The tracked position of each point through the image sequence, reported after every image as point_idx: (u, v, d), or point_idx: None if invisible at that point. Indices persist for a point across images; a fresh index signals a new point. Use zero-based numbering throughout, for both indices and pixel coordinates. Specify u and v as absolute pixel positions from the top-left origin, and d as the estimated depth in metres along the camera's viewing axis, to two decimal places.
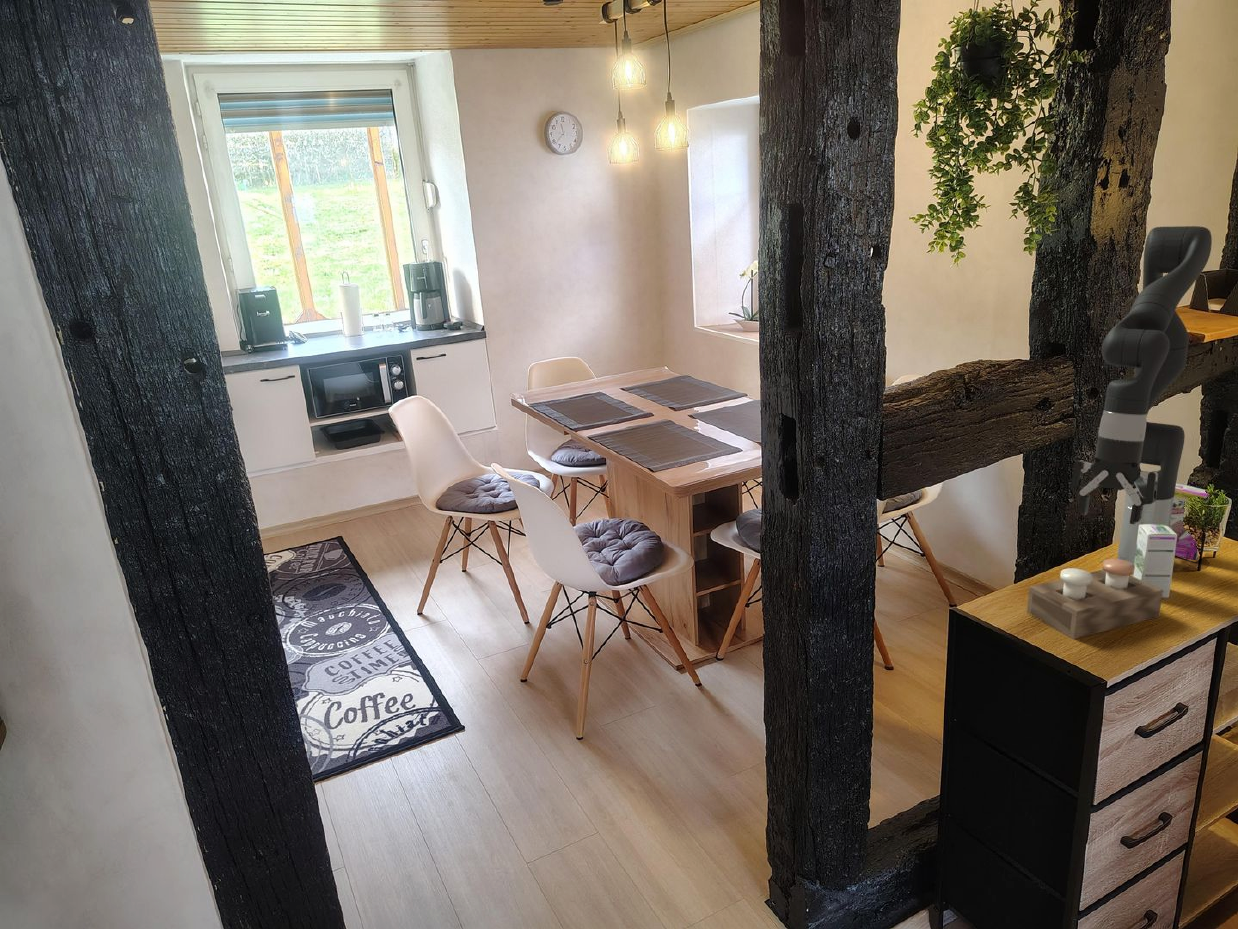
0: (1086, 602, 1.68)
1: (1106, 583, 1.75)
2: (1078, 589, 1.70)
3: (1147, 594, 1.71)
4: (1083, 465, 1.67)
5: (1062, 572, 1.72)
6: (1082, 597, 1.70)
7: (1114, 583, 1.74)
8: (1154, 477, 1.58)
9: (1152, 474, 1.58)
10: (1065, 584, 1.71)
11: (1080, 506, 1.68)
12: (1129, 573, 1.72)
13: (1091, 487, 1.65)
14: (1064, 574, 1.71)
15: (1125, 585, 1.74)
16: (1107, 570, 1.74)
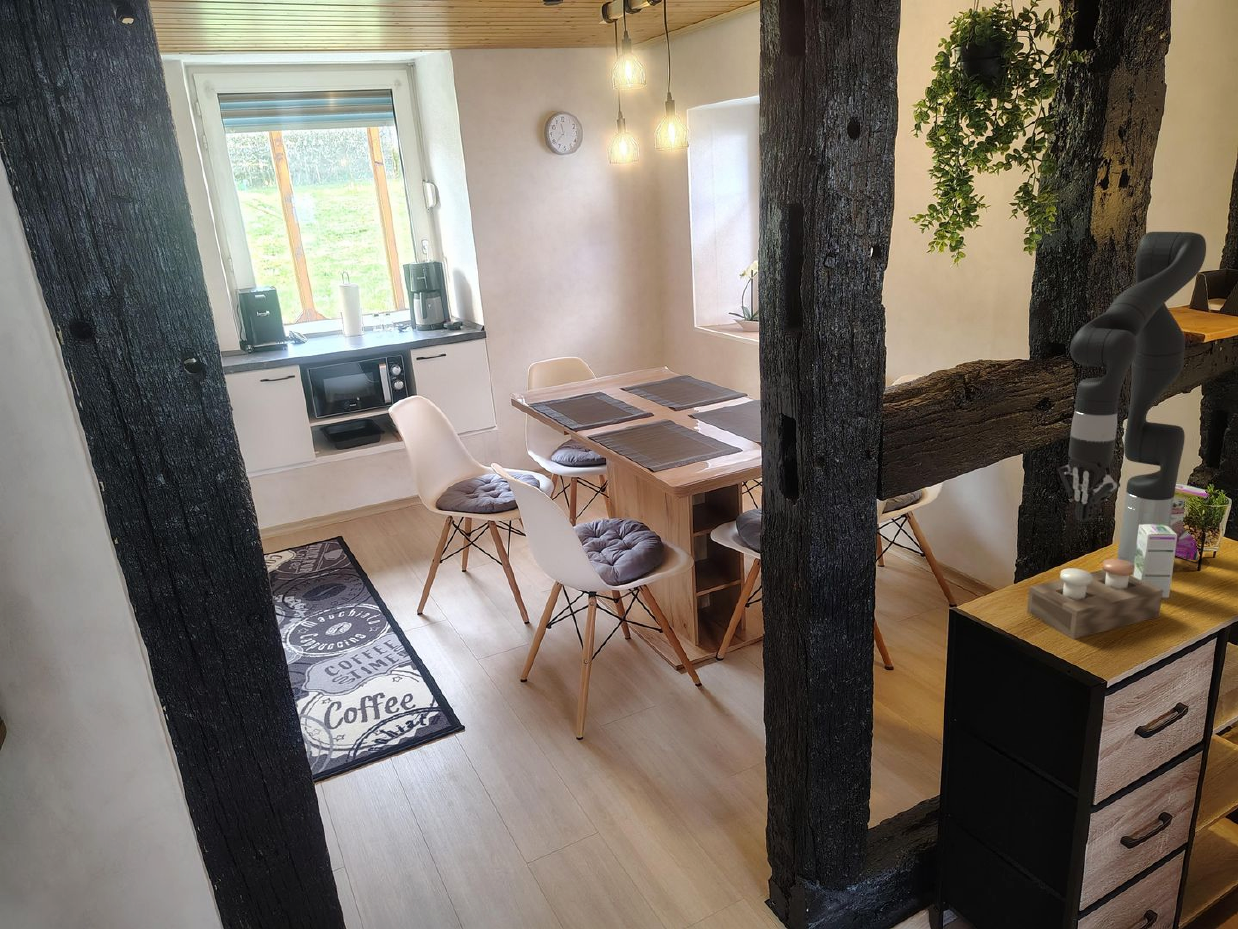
0: (1086, 602, 1.68)
1: (1106, 583, 1.75)
2: (1078, 589, 1.70)
3: (1147, 594, 1.71)
4: (1065, 469, 1.69)
5: (1062, 572, 1.72)
6: (1082, 597, 1.70)
7: (1114, 583, 1.74)
8: (1108, 489, 1.59)
9: (1108, 486, 1.59)
10: (1065, 584, 1.71)
11: (1076, 511, 1.68)
12: (1129, 573, 1.72)
13: (1077, 489, 1.66)
14: (1064, 574, 1.71)
15: (1125, 585, 1.74)
16: (1107, 570, 1.74)
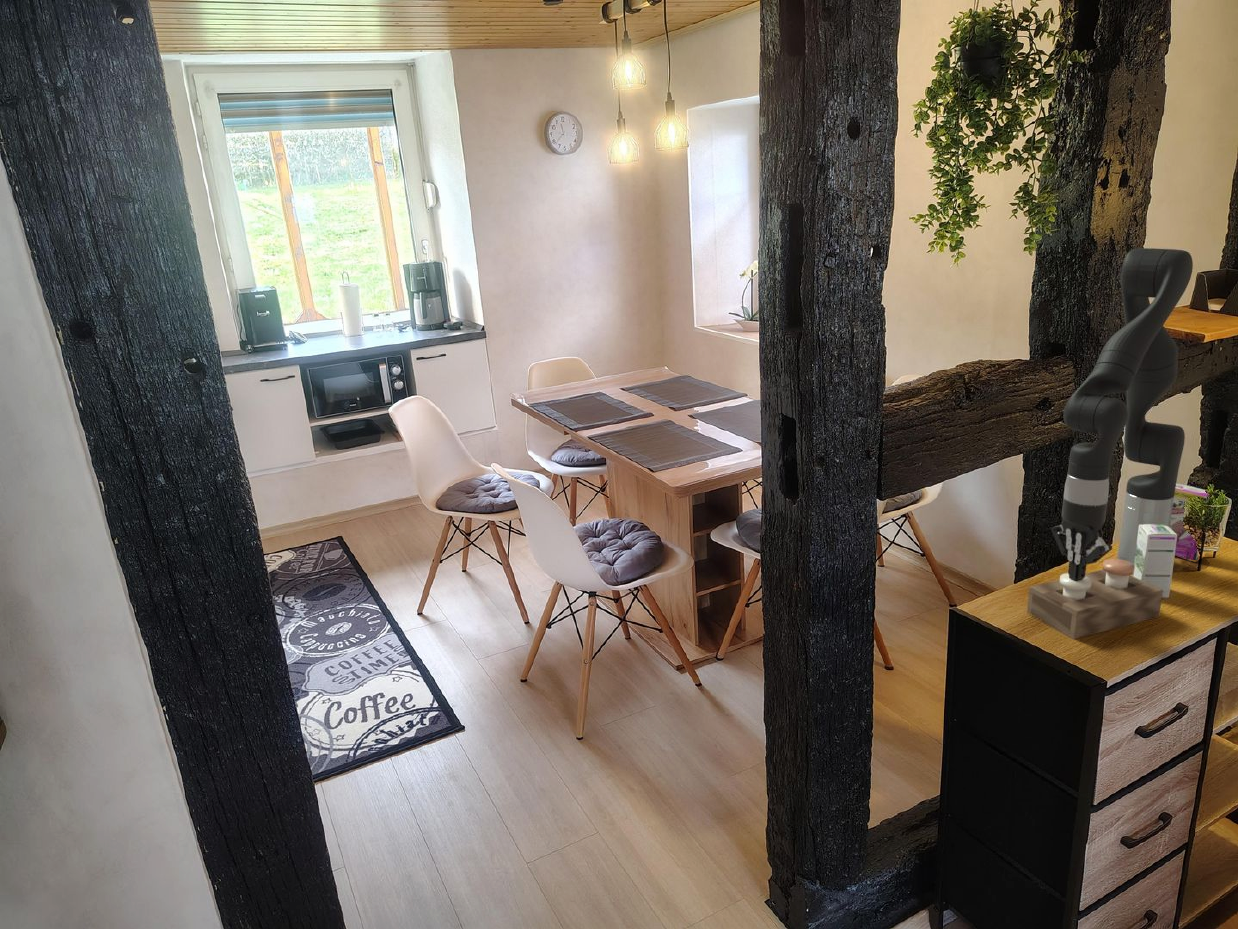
0: (1086, 602, 1.68)
1: (1106, 583, 1.75)
2: (1077, 594, 1.70)
3: (1147, 594, 1.71)
4: (1058, 528, 1.73)
5: (1061, 577, 1.72)
6: None
7: (1114, 583, 1.74)
8: (1100, 552, 1.63)
9: (1100, 549, 1.63)
10: (1064, 589, 1.72)
11: (1069, 570, 1.71)
12: (1129, 573, 1.72)
13: (1070, 549, 1.69)
14: (1063, 579, 1.71)
15: (1125, 585, 1.74)
16: (1107, 570, 1.74)
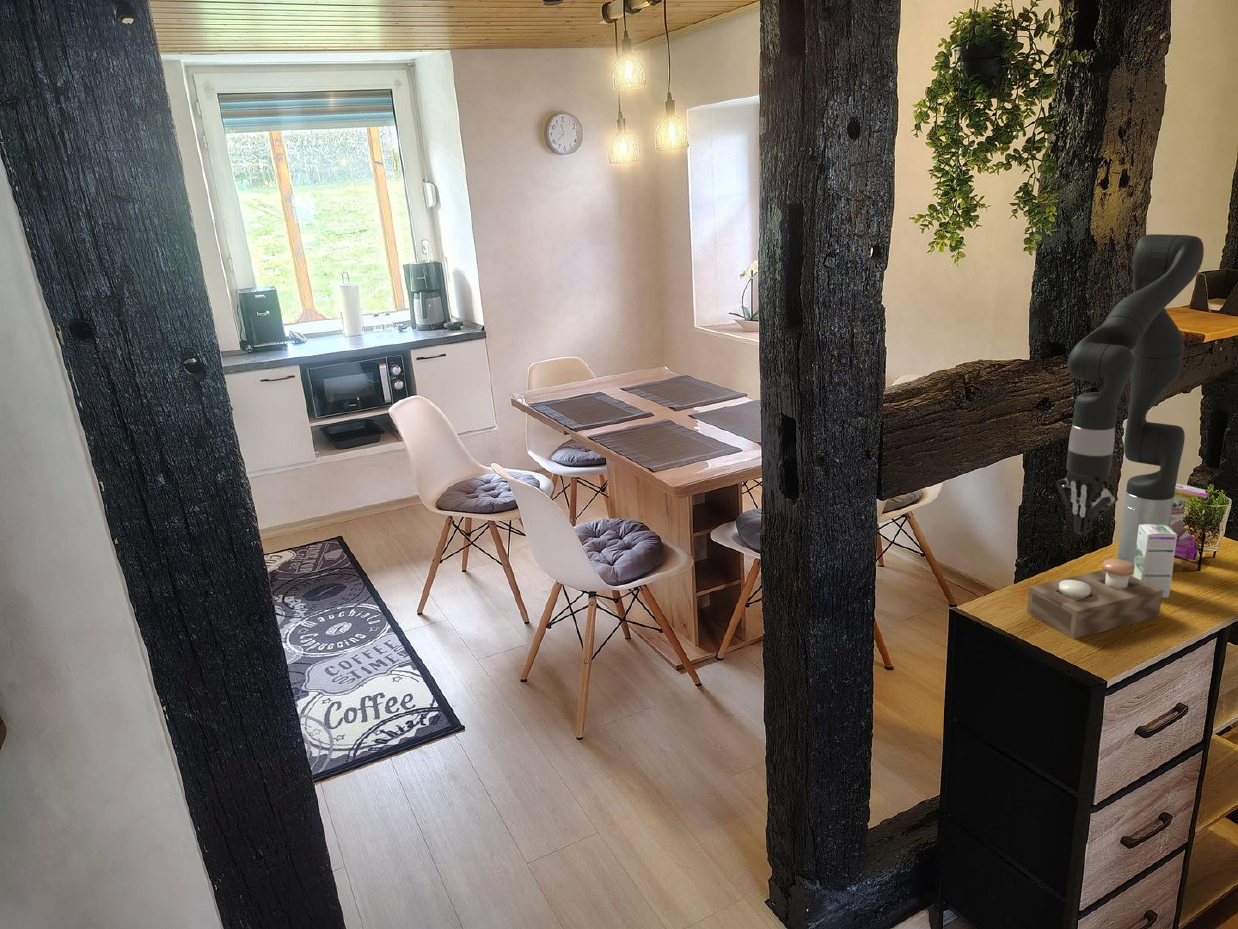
0: (1086, 602, 1.68)
1: (1106, 583, 1.75)
2: None
3: (1147, 594, 1.71)
4: (1063, 482, 1.70)
5: (1061, 584, 1.73)
6: None
7: (1114, 583, 1.74)
8: (1106, 503, 1.60)
9: (1106, 500, 1.60)
10: None
11: (1074, 524, 1.69)
12: (1129, 573, 1.72)
13: (1075, 502, 1.66)
14: (1062, 586, 1.72)
15: (1125, 585, 1.74)
16: (1107, 570, 1.74)
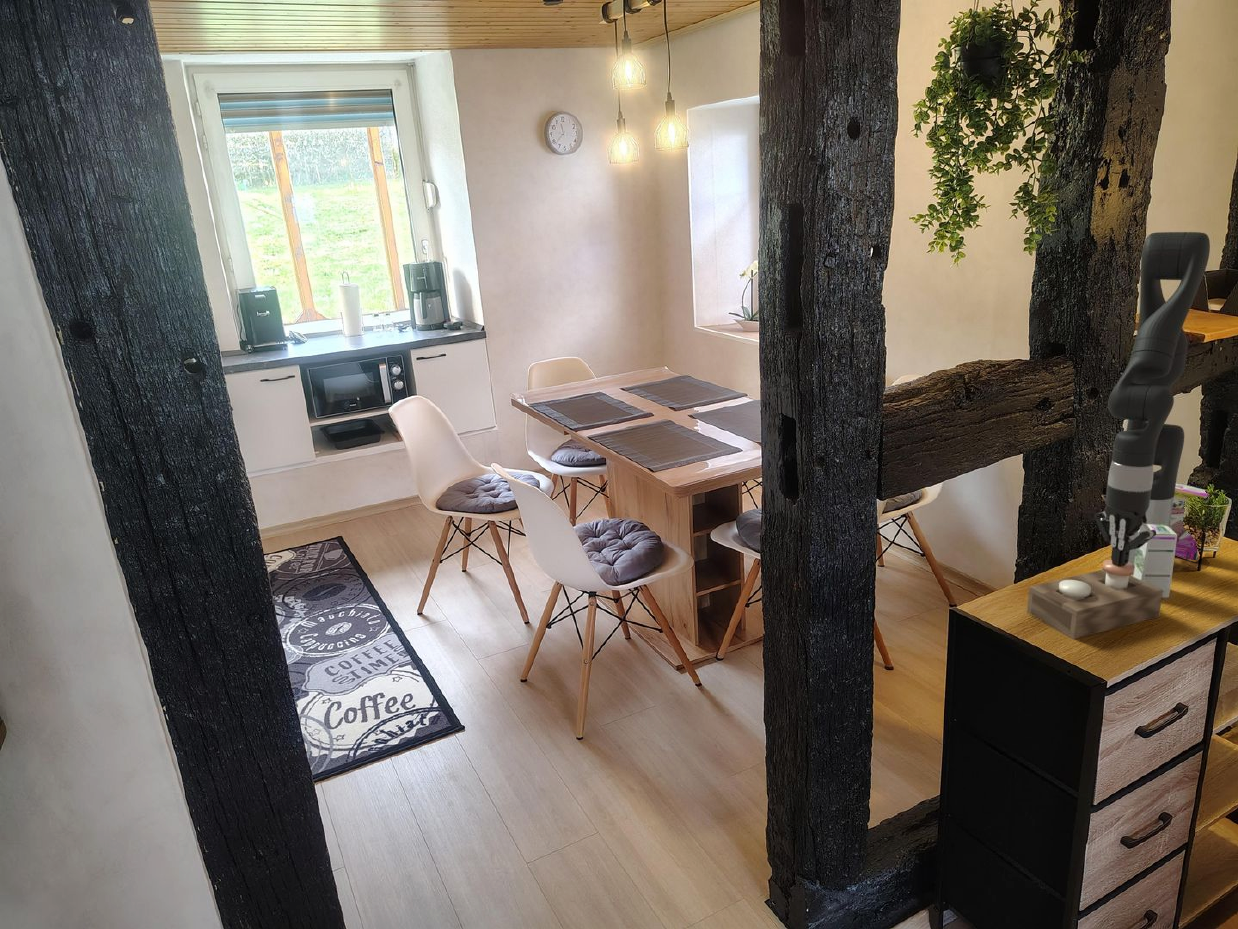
0: (1086, 602, 1.68)
1: (1106, 583, 1.76)
2: None
3: (1147, 594, 1.71)
4: (1101, 515, 1.76)
5: (1061, 584, 1.73)
6: None
7: (1114, 583, 1.74)
8: (1145, 537, 1.66)
9: (1145, 534, 1.66)
10: None
11: (1112, 556, 1.74)
12: (1129, 573, 1.72)
13: (1113, 535, 1.72)
14: (1062, 586, 1.72)
15: (1125, 585, 1.74)
16: (1107, 570, 1.74)
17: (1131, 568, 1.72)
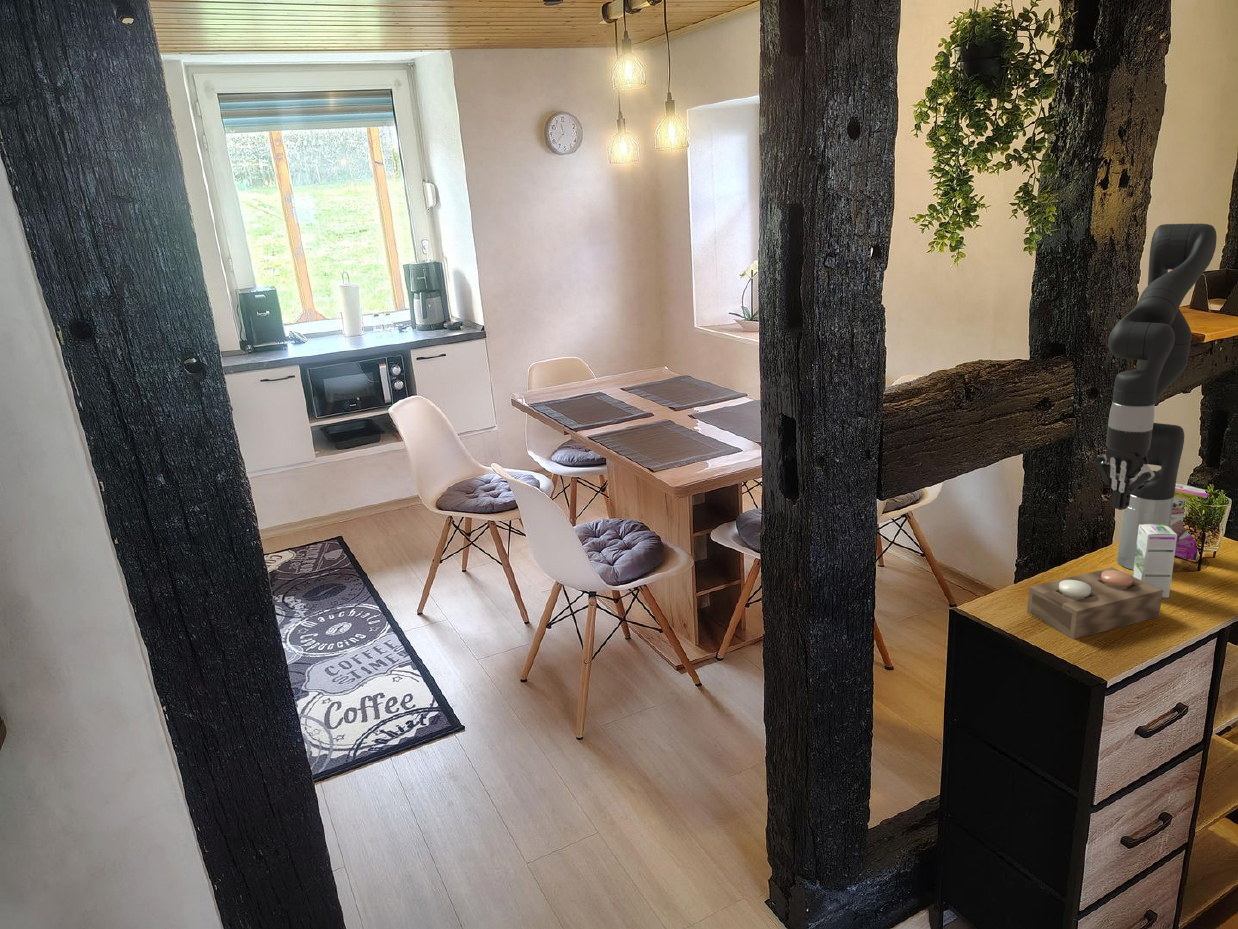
0: (1086, 602, 1.68)
1: None
2: None
3: (1147, 594, 1.71)
4: (1102, 459, 1.74)
5: (1061, 584, 1.73)
6: None
7: None
8: (1146, 478, 1.64)
9: (1146, 475, 1.64)
10: None
11: (1113, 499, 1.73)
12: (1127, 585, 1.73)
13: (1114, 478, 1.70)
14: (1062, 586, 1.72)
15: None
16: (1106, 582, 1.74)
17: (1129, 579, 1.73)
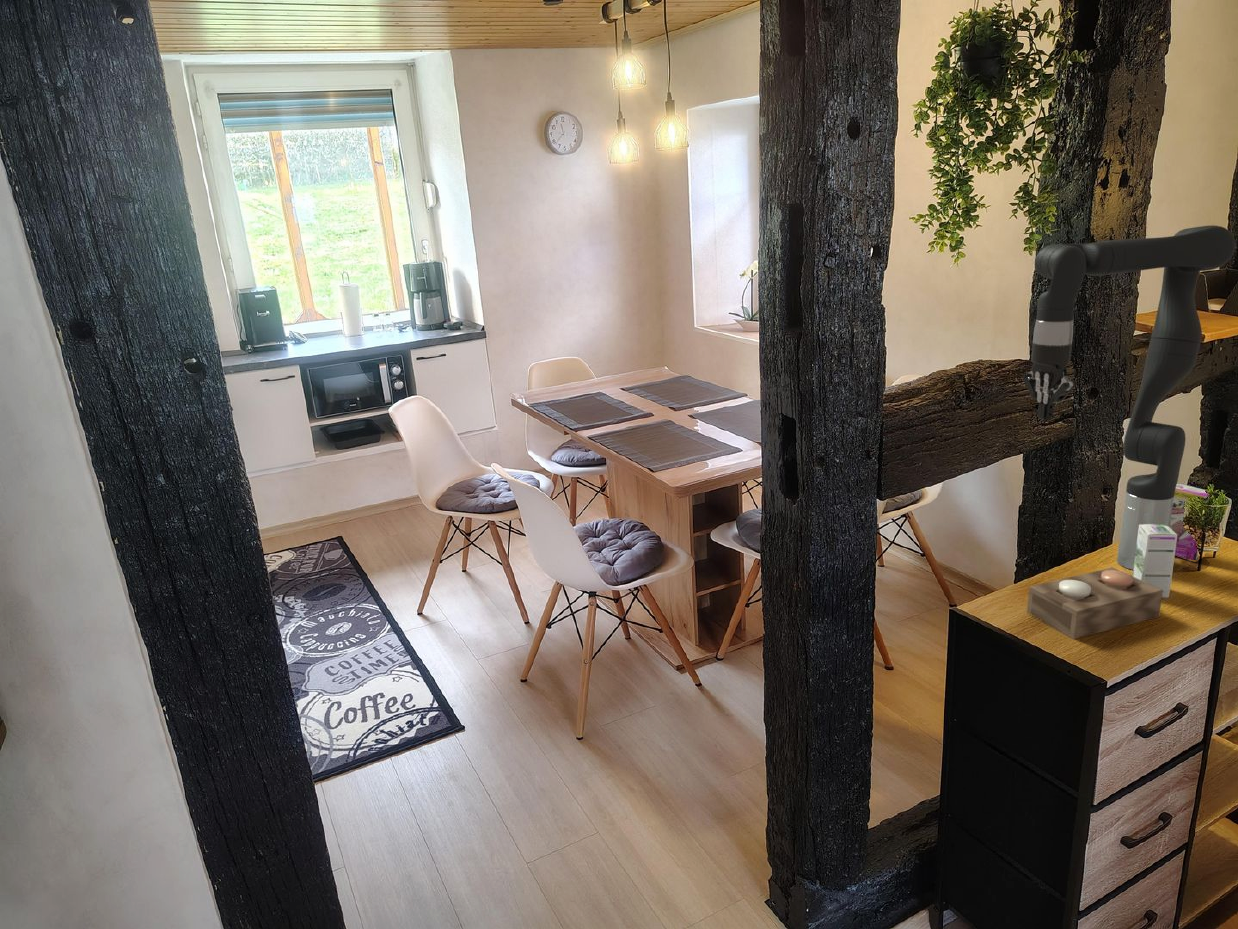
0: (1086, 602, 1.68)
1: None
2: None
3: (1147, 594, 1.71)
4: (1029, 375, 1.91)
5: (1061, 584, 1.73)
6: None
7: None
8: (1065, 387, 1.81)
9: (1065, 385, 1.81)
10: None
11: (1039, 411, 1.89)
12: (1127, 585, 1.73)
13: (1039, 391, 1.87)
14: (1062, 586, 1.72)
15: None
16: (1106, 582, 1.74)
17: (1129, 579, 1.73)
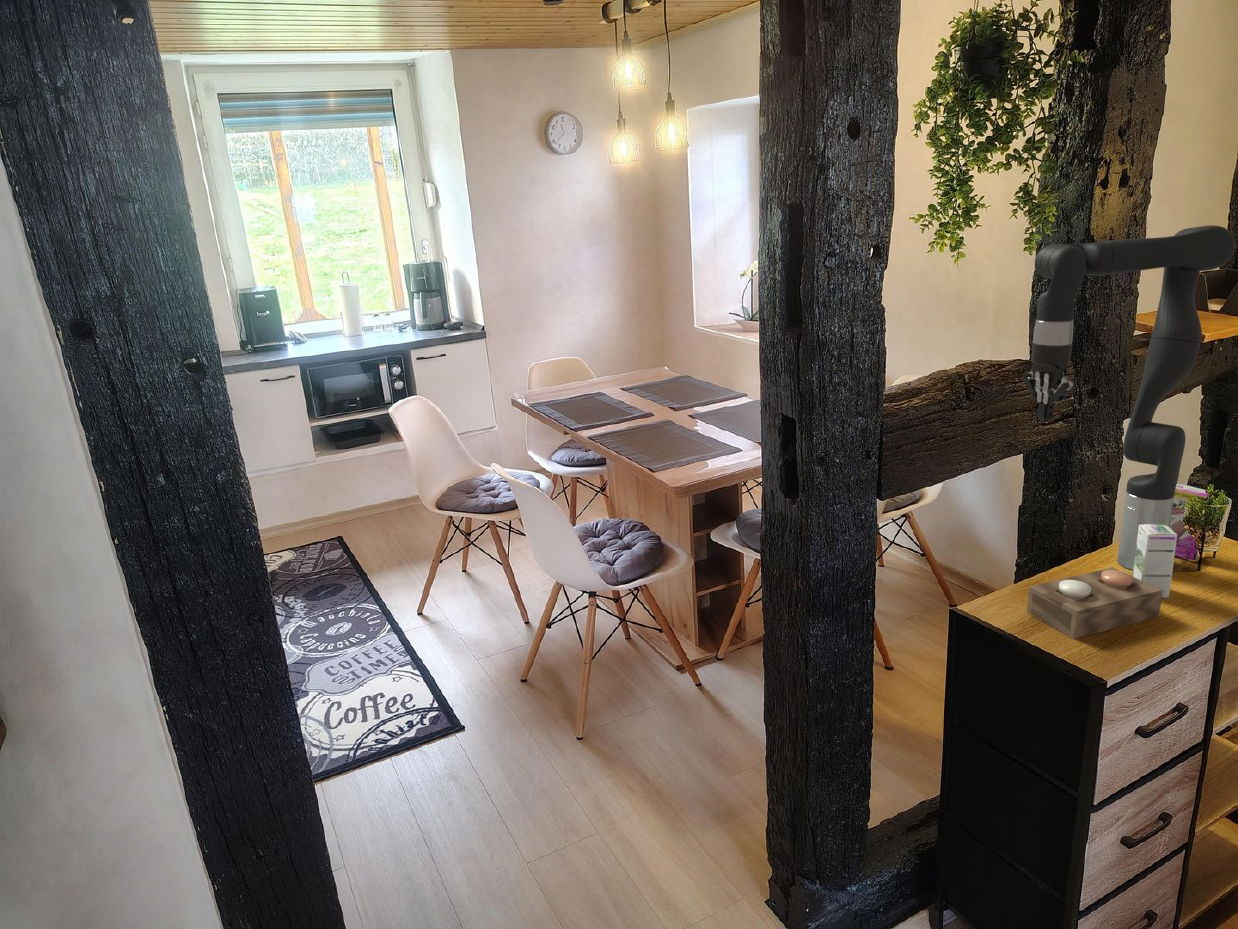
0: (1086, 602, 1.68)
1: None
2: None
3: (1147, 594, 1.71)
4: (1029, 375, 1.91)
5: (1061, 584, 1.73)
6: None
7: None
8: (1065, 387, 1.81)
9: (1065, 385, 1.81)
10: None
11: (1039, 411, 1.89)
12: (1127, 585, 1.73)
13: (1039, 391, 1.87)
14: (1062, 586, 1.72)
15: None
16: (1106, 582, 1.74)
17: (1129, 579, 1.73)
